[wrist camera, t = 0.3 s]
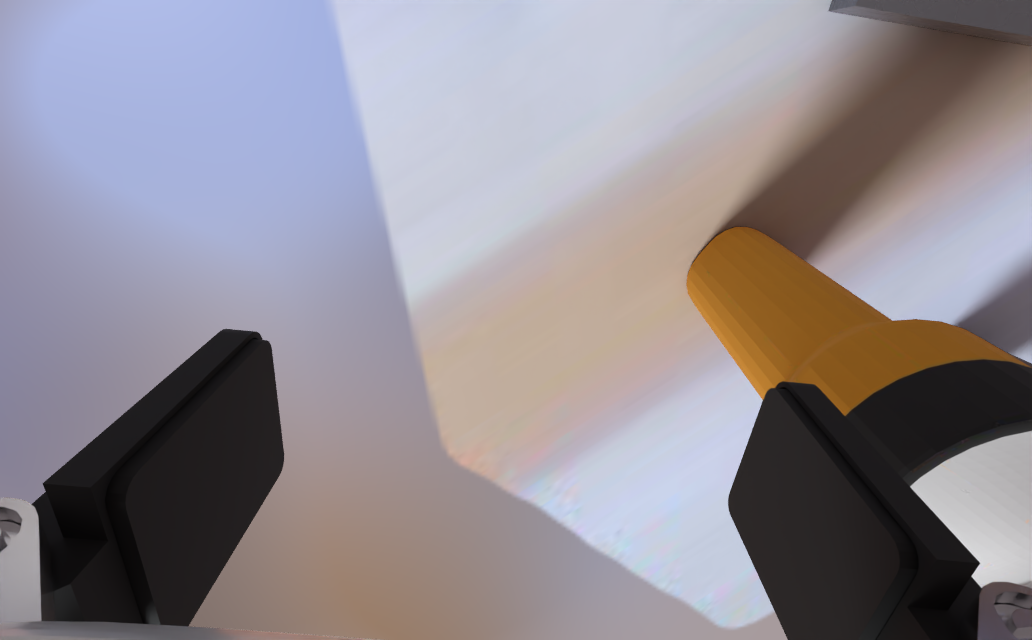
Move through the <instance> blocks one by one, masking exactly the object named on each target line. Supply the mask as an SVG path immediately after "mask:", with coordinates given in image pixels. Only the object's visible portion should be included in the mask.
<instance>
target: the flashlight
mask: <svg viewBox="0 0 1032 640" xmlns="http://www.w3.org/2000/svg"><path fill="white" fill-rule="evenodd" d="M687 290H688V294H689V296H690V297H691V299H692V301H693V303H694V304H695V306H696V307H697V309H698V310H699V312H700V313H701V315H702V316H703V317H704V319H705V320H706V322H707V323H708V324H709V326H710V327H711V329H712V330H713V331H714V333H715V334H716V336H717V337H718V338H719V340H720V341H721V342H722V344H723V345H724V347H725V348H726V349H727V351H728V352H729V354H730V355H731V356H732V358H733V359H734V360H735V362H736V363H737V365H738V366H739V367H740V369H741V370H742V372H743V373H744V374H745V376H746V377H747V379H748V380H749V381H750V383H751V384H752V385H753V387H754V388H755V390H756V391H757V392H758V394H759V395H760V397H761V398H762V399H764V397H765V394H766V392H767V391H768V390H769V389H770V388H775V387H776V386H777V384H778V383H780V382H782V381H785V382H796V383H807V384H814V385H816V386H817V387H818V388H819V389H820V390H821V391H822V392H823V393H824V394H825V395H826V396H827V397H828V398H829V399H830V401H831V402H832V403H833V404H834V405H835V406H836V407H837V408H838V409H839V410H840V411H841V413H842V414H843V415H844V416H845V417H846V418H847V419H848V420H849V421H850V422H851V423H852V424H853V426H854V427H855V428H856V429H857V430H858V431H859V432H860V433H861V434H862V435H863V436H864V437H865V439H866V440H867V441H868V442H869V443H870V444H871V445H872V446H873V447H874V448H875V449H876V450H877V452H878V453H879V454H880V455H881V456H882V457H883V458H884V459H885V460H886V461H887V462H888V463H889V465H890V466H891V467H892V468H893V469H894V470H895V471H896V472H897V473H898V474H899V475H900V477H901V478H902V479H903V480H904V481H905V482H906V483H907V484H908V485H909V486H910V487H911V488H912V490H913V491H914V492H915V493H916V494H917V495H918V496H919V497H920V498H921V499H922V500H923V501H924V503H925V504H926V505H927V506H928V507H929V508H930V509H931V510H932V511H933V512H934V513H935V514H936V516H937V517H938V518H939V519H940V520H941V521H942V522H943V523H944V524H945V525H946V526H947V527H948V529H949V530H950V531H951V532H952V533H953V534H954V535H955V536H956V537H957V538H958V539H959V540H960V542H961V543H962V544H963V545H964V546H965V547H966V548H967V549H968V550H969V551H970V552H971V554H972V555H973V556H974V557H975V558H976V559H977V560H978V561H979V562H980V564H979V566H978V567H977V569H976V570H975V572H974V573H973V575H972V576H971V577H972V578H973V579H974V580H975V581H976V582H977V583H978V585H979V586H980V587H981V588H982V587H983V586H985V585H987V584H989V583H991V582H1011V583H1015V584H1019V585H1023V586H1027V587H1029V588H1032V367H1030V366H1028V365H1027V364H1025V363H1023V362H1022V361H1020V360H1018V359H1016V358H1015V357H1013V356H1011V355H1010V354H1008V353H1006V352H1004V351H1003V350H1001V349H999V348H998V347H996V346H994V345H992V344H991V343H989V342H987V341H986V340H984V339H982V338H980V337H978V336H977V335H975V334H973V333H971V332H969V331H968V330H965V329H963V328H960V327H957V326H953V325H950V324H947V323H944V322H939V321H928V320H918V319H913V320H899V321H892V320H891V319H889V318H888V317H886V316H885V315H883V314H882V313H880V312H879V311H877V310H876V309H874V308H873V307H872V306H870V305H869V304H867V303H866V302H864V301H863V300H861V299H860V298H858V297H857V296H855V295H854V294H852V293H851V292H850V291H848V290H847V289H845V288H844V287H842V286H841V285H839V284H838V283H836V282H835V281H833V280H832V279H831V278H829V277H828V276H826V275H825V274H823V273H822V272H820V271H819V270H817V269H816V268H814V267H813V266H811V265H810V264H809V263H807V262H806V261H804V260H803V259H801V258H800V257H798V256H797V255H795V254H794V253H792V252H791V251H789V250H788V249H787V248H785V247H784V246H782V245H781V244H779V243H778V242H776V241H775V240H773V239H772V238H770V237H768V236H767V235H765V234H763V233H761V232H759V231H758V230H756V229H752V228H749V227H734V228H731V229H728V230H725V231H724V232H722V233H721V234H719V235H717V236H716V237H715V238H714V239H713V240H712V241H711V242H710V243H709V244H708V245H707V246H706V247H705V248H704V250H703V251H702V252H701V253H700V254H699V256H698V257H697V258H696V259H695V261H694V263H693V264H692V266H691V268H690V270H689V273H688V276H687Z"/></svg>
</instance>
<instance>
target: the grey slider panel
mask: <svg viewBox="0 0 1032 640" xmlns="http://www.w3.org/2000/svg"><path fill="white" fill-rule="evenodd" d="M829 11H830V12H836V13H842V14H848V15H854V16H860V17H865V18H871V19H877V20H883V21H889V22H895V23H900V24H906V25H912V26H918V27H924V28H930V29H935V30H941V31H947V32H953V33H959V34H965V35H970V36H976V37H982V38H988V39H994V40H999V41H1005V42H1011V43H1017V44H1023V45H1029V46H1032V0H832V3H831V5H830V8H829Z"/></svg>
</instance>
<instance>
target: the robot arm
mask: <svg viewBox="0 0 1032 640" xmlns="http://www.w3.org/2000/svg"><path fill="white" fill-rule="evenodd" d="M283 462H284V450H283V441H282V433H281V424H280V416H279V407H278V399H277V390H276V382H275V373H274V365H273V356H272V348H271V345H270V343H269V342H268V341H265V340H262V337H261V335H260V334H259V333H258V332H253V331H241V330H232V329H223V330H222V331H220V332H219V333H218V334H217V335H215V336H214V337H213V338H212V339H211V340H209V341H208V342H207V343H206V344H205V345H204V346H202V347H201V348H200V349H199V350H198V351H197V352H195V353H194V354H193V355H192V356H191V357H190V358H189V359H187V360H186V361H185V362H184V363H183V364H182V365H180V366H179V367H178V368H177V369H176V370H175V371H173V372H172V373H171V374H170V375H169V376H167V377H166V378H165V379H164V380H163V381H162V382H161V383H159V384H158V385H157V386H156V387H155V388H154V389H152V390H151V391H150V392H149V393H148V394H147V395H145V396H144V397H143V398H142V399H141V400H139V401H138V402H137V403H136V404H135V405H134V406H133V407H131V408H130V409H129V410H128V411H127V412H126V413H124V414H123V415H122V416H121V417H120V418H119V419H117V420H116V421H115V422H114V423H113V424H111V425H110V426H109V427H108V428H107V429H106V430H104V431H103V432H102V433H101V434H100V435H99V436H98V437H96V438H95V439H94V440H93V441H92V442H90V443H89V444H88V445H87V446H86V447H85V448H84V449H82V450H81V451H80V452H79V453H78V454H76V455H75V456H74V457H73V458H72V459H71V460H70V461H69V462H67V463H66V464H65V465H64V466H62V467H61V468H60V469H59V470H58V471H57V472H55V473H54V474H53V475H52V476H51V477H50V478H49V479H47V480H46V481H45V482H44V483H43V485H44V488H45V491H46V492H45V493H44V494H43V495H42V496H41V497H39V498H38V499H37V500H36V501H35V502H34V503H33V504H29V503H28V502H26V501H24V500H20V499H13V498H0V640H377V639H363V638H350V637H335V636H322V635H308V634H294V633H281V632H267V631H253V630H239V629H224V628H206V627H188V626H189V624H190V622H191V621H192V619H193V618H194V616H195V614H196V612H197V611H198V609H199V608H200V606H201V604H202V603H203V601H204V599H205V598H206V596H207V594H208V593H209V591H210V589H211V588H212V586H213V584H214V583H215V581H216V580H217V578H218V576H219V575H220V573H221V571H222V570H223V568H224V566H225V565H226V563H227V561H228V560H229V558H230V556H231V555H232V553H233V551H234V550H235V548H236V546H237V545H238V543H239V542H240V540H241V538H242V537H243V535H244V533H245V532H246V530H247V528H248V527H249V525H250V523H251V522H252V520H253V518H254V517H255V515H256V513H257V512H258V510H259V509H260V507H261V505H262V504H263V502H264V500H265V499H266V497H267V495H268V494H269V492H270V490H271V489H272V487H273V485H274V484H275V482H276V481H277V479H278V477H279V475H280V473H281V471H282V467H283ZM728 506H729V512H730V515H731V517H732V519H733V521H734V523H735V526H736V528H737V530H738V532H739V534H740V536H741V539H742V541H743V543H744V545H745V547H746V550H747V552H748V554H749V556H750V558H751V560H752V563H753V565H754V567H755V569H756V571H757V573H758V576H759V578H760V580H761V582H762V584H763V586H764V589H765V591H766V593H767V595H768V597H769V599H770V602H771V604H772V606H773V608H774V610H775V612H776V614H777V617H778V619H779V621H780V623H781V625H782V627H783V630H784V632H785V634H786V636H787V638H788V640H1032V588H1029V587H1027V586H1023V585H1019V584H1015V583H1011V582H991V583H989V584H987V585H985V586H983V587H982V588H981V587H980V586H979V585H978V583H977V582H976V581H975V580H974V579H973V578H972V577H971V576H972V575H973V573H974V572H975V570H976V569H977V567H978V566H979V564H980V562H979V561H978V560H977V559H976V558H975V557H974V556H973V555H972V554H971V552H970V551H969V550H968V549H967V548H966V547H965V546H964V545H963V544H962V543H961V542H960V540H959V539H958V538H957V537H956V536H955V535H954V534H953V533H952V532H951V531H950V530H949V529H948V527H947V526H946V525H945V524H944V523H943V522H942V521H941V520H940V519H939V518H938V517H937V516H936V514H935V513H934V512H933V511H932V510H931V509H930V508H929V507H928V506H927V505H926V504H925V503H924V501H923V500H922V499H921V498H920V497H919V496H918V495H917V494H916V493H915V492H914V491H913V490H912V488H911V487H910V486H909V485H908V484H907V483H906V482H905V481H904V480H903V479H902V478H901V477H900V475H899V474H898V473H897V472H896V471H895V470H894V469H893V468H892V467H891V466H890V465H889V463H888V462H887V461H886V460H885V459H884V458H883V457H882V456H881V455H880V454H879V453H878V452H877V450H876V449H875V448H874V447H873V446H872V445H871V444H870V443H869V442H868V441H867V440H866V439H865V437H864V436H863V435H862V434H861V433H860V432H859V431H858V430H857V429H856V428H855V427H854V426H853V424H852V423H851V422H850V421H849V420H848V419H847V418H846V417H845V416H844V415H843V414H842V413H841V411H840V410H839V409H838V408H837V407H836V406H835V405H834V404H833V403H832V402H831V401H830V399H829V398H828V397H827V396H826V395H825V394H824V393H823V392H822V391H821V390H820V389H819V388H818V387H817V386H816V385H814V384H807V383H796V382H785V381H782V382H780V383H778V384H777V386H776V387H775V388H770V389H769V390H768V391H767V392H766V394H765V397H764V399H763V402H762V405H761V408H760V410H759V413H758V416H757V419H756V421H755V424H754V427H753V430H752V433H751V435H750V438H749V441H748V444H747V446H746V449H745V452H744V455H743V457H742V460H741V463H740V466H739V469H738V471H737V474H736V477H735V480H734V482H733V485H732V488H731V491H730V494H729V499H728Z"/></svg>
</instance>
